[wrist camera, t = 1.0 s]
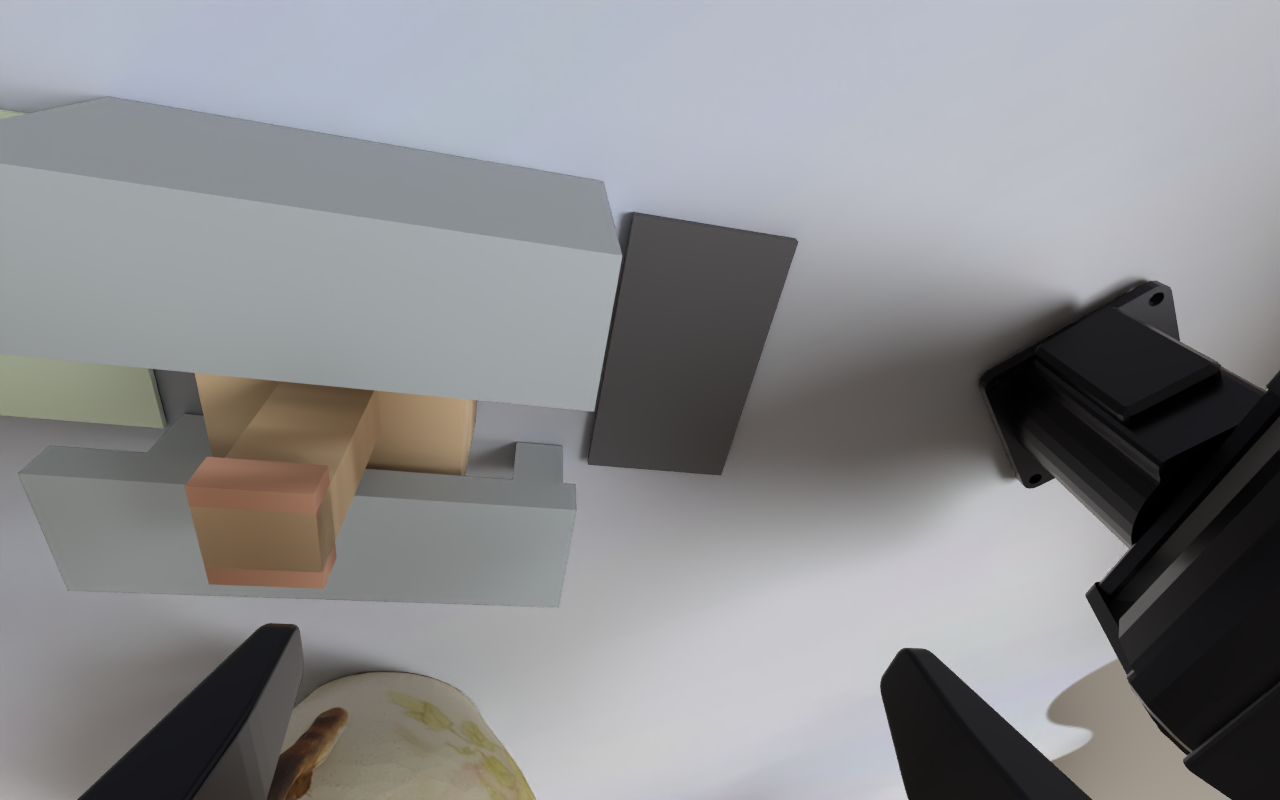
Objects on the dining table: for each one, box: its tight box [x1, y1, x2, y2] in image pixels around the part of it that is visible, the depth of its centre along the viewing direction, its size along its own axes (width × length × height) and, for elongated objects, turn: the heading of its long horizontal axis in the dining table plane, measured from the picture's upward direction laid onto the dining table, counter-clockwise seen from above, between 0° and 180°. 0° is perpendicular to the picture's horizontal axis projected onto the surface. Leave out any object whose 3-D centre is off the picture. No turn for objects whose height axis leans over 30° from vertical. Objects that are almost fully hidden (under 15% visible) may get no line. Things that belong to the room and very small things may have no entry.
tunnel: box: [0, 97, 622, 607], centre depth 16 cm, size 12×10×6 cm
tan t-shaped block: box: [184, 373, 477, 589], centre depth 15 cm, size 6×6×9 cm
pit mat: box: [588, 212, 798, 475], centre depth 20 cm, size 5×9×1 cm, turn 169°
